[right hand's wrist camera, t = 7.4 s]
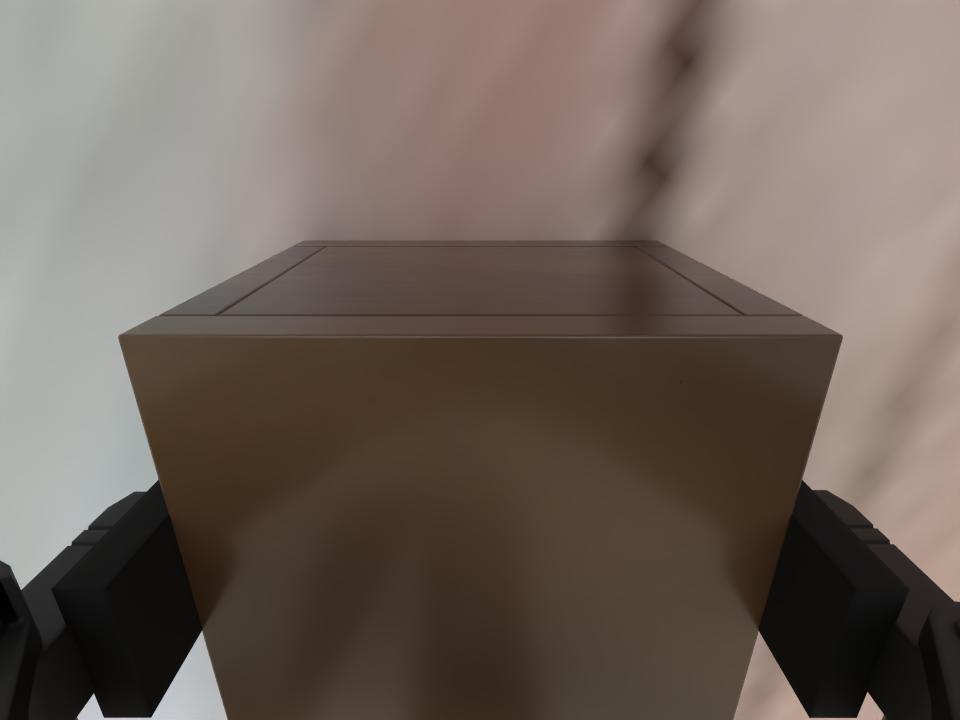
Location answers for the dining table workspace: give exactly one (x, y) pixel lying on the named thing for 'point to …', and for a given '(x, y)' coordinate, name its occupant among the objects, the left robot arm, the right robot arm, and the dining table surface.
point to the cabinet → (480, 476)
